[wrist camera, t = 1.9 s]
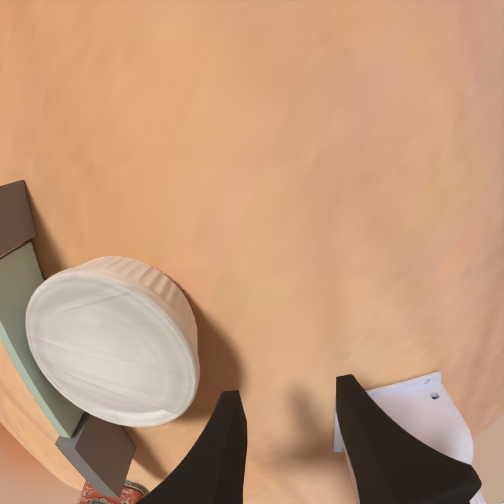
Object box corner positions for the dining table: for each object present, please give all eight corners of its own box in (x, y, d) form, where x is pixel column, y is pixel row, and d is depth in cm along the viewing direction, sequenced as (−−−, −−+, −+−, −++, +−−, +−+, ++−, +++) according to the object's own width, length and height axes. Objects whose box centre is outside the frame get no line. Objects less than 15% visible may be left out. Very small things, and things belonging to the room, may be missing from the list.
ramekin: (102, 383, 23) (79, 428, 18) (40, 262, 19) (-4, 293, 14) (230, 369, 22) (225, 424, 17) (177, 219, 18) (150, 249, 13)
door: (31, 241, 18) (-19, 271, 13) (94, 392, 23) (70, 438, 17) (15, 245, 18) (-34, 275, 13) (78, 390, 23) (53, 434, 17)
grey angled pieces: (23, 179, 17) (-43, 200, 11) (135, 447, 26) (119, 498, 19) (6, 186, 17) (-59, 208, 11) (118, 446, 26) (101, 495, 20)
